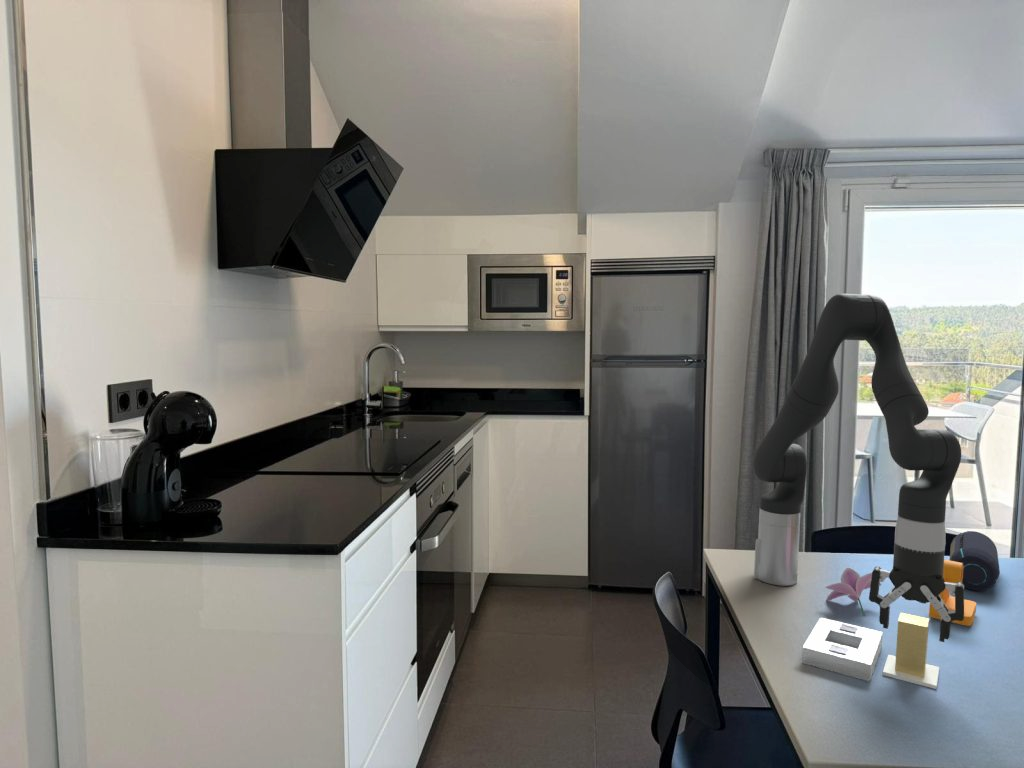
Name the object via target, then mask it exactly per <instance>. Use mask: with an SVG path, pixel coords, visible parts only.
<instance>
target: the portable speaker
mask: <svg viewBox="0 0 1024 768" xmlns="http://www.w3.org/2000/svg"><path fill="white" fill-rule="evenodd" d="M948 560H950V561H955V562H960V563H963V579H962V583H963V584H964V589H967V590H970V591H976V592H979V591H980V592H984V591H987V590H989V589H991V588H993V587H994V586H995V585H996V583H997V582H998V580H999V578H1000V574H1001V572H1000V571H1001V570H1000V562H999V561H1000V560H999V555H998V550H997V546H996V544H995V542H994V541H993V540H992V539H991V538H990V537H989V536H987V535H986V534H984V533H982V532H979V531H975V530H974V531H971V530H970V531H969V530H967V531H964V532H960V533H958V534H957V535H955V537H954V538H953V539H952V541H951V542H950V550H949V558H948Z"/></svg>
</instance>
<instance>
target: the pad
mask: <svg viewBox="0 0 1024 768" xmlns="http://www.w3.org/2000/svg"><path fill="white" fill-rule="evenodd" d="M895 663H896V655H891V654H889V653H888V655H887V657H886V661H885V664H884V667H883V671H882V676H885V677H889V678H892V679H897V680H901V681H904V682H909V683H912V684H915V685H920V686H923V687H926V688H931V689H934V690H937V687H938V683H939V682H938V680H939V674H940V666H936V665H932V664H928V663H926V670H925V676H924V678H922V677H919V676H915V675H911V674H907V673H903V672H899V671H895Z"/></svg>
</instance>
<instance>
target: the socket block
mask: <svg viewBox="0 0 1024 768" xmlns="http://www.w3.org/2000/svg"><path fill="white" fill-rule="evenodd" d="M883 634H884V633H883V631H880V630H876V629H871V628H867V627H863V626H858V625H854V624H850V623H845V622H842V621H837V620H833V619H828V618H824V617H820V618H819V619H818V620H817V622H816V624H815V625H814V627H813V628H812V631H811V633H810V634H809V635H808V638H807V639H806V641H805V642H804V644H803V646H802V651H801V653H802V655H801V663H802V664H804V665H808V666H811V665H812V666H811V667H815V666H816V667H815V668H818V667H819V669H822V670H825V671H826V670H827V671H829V670H830V671H829V672H833V671H834V672H833V673H836V672H837V674H840V675H844V676H848V677H851V678H855V679H860V680H863V681H865V682H866V681H867V682H868V683H869V682H871V679H872V677H873V675H874V671H875V669H876V666H875V665H877V663H876V662H878V660H877V659H879V657H880V653H881V651H882V648H883ZM878 656H879V657H878Z"/></svg>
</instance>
